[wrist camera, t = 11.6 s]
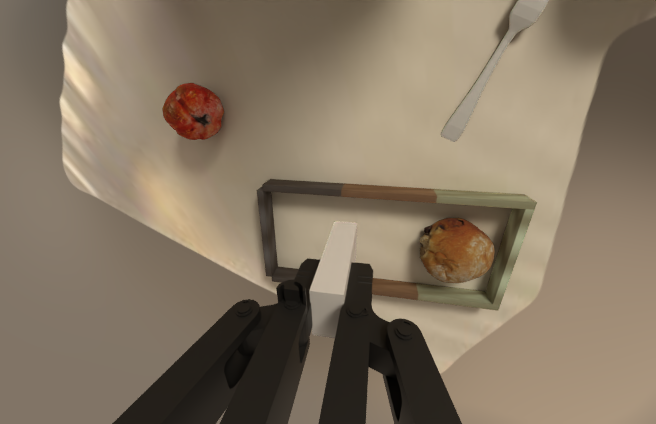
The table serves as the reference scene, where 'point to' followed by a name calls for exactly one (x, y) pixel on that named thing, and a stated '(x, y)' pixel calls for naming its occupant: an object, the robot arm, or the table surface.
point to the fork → (493, 65)
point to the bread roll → (456, 250)
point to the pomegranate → (193, 111)
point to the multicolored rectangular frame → (415, 291)
